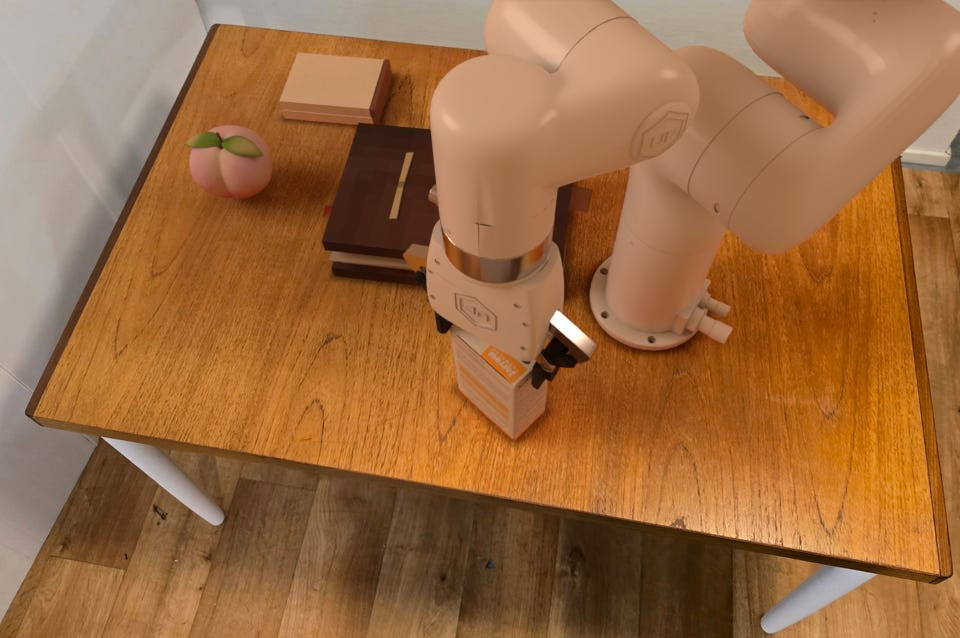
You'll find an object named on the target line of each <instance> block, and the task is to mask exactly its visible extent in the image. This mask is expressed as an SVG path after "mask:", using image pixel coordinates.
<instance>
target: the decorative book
mask: <svg viewBox="0 0 960 638" xmlns="http://www.w3.org/2000/svg"><path fill="white" fill-rule="evenodd" d="M435 184H436V176H435V166H434V156H433V147H432V137H431V128H422V127H409V126H401V125H400V126H399V125H390V124H380V123H379V124H369V123H358V125H356V129H355V132H354V136H353V138H352V142H351V145H350V149H349V151H348V154H347V157H346V161H345V165H344V168H343V172H342V174H341V177H340V181H339V184H338V186H337V191H336V194H335V197H334V200H333V203H332V204H325V205H324V207H323V208H324V209H323V213H322V217H323V218H327V219H328V220H327V221H326V225H325V229H324V232H323V236H322V239H321V243H322V246H323V249H324V251H325V252H327V251H328V252H329V256H328V262H329V261H330V262H332V264H331V271H332V273H333V276H334V277H338V278H339V277H341V278H347V279H348V278H350V279H357V280H358V279H359V280H367V281H376V282H384V283H393V284H401V285H411V286H419V287H422V286H421V285H420V284H419V283H417V282H416V281H415V278H414V276H413V275H414V274H415V271H414V270H411V268H410V266H409V265H408V263H407V262H406V260H405V259H404V257H403V254H404V253H405V252H406V250H407V249H408V248H409V247H410V246H411V245H412V244H417V245H423V246H428V247H429V245H430V241H431V236H432V233H433V229H434V227H435V225H436V223H437V222H438V221H439V219H440V215H439V210H438V209H439V208H438V207H437V206H436V204H435V203H433V202H431V201H429V199H428V196H429V192H430V190H431V188H432V187H433V186H434V185H435ZM573 184H574V182H573V183H570V184H567V185H564V186H561V187H559V188H558V191H557V199H556V208H555V219H554V228H553V237H552V241H553V242H554V243H555V244H556V245H557V246H558V249H559V253H560V257H561V262H562V268H563V275H564V273H565V272H564V271H565V261H566V249H567V237H568V227H569V217H570V211H576V212H581V213H586V214H588V213H589V210H590V205H591V201H592V196H593V192H594V189H593V188H592V189H590V188H586V187H580V186H574V185H573Z"/></svg>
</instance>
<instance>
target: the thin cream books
mask: <svg viewBox="0 0 960 638" xmlns="http://www.w3.org/2000/svg"><path fill="white" fill-rule="evenodd" d="M392 80H393V72H392V67H391V60H390V59H388V58H386V59H383V58H382V59H381V58H371V57H359V56H357V57H356V56H347V55H346V56H345V55H332V54H321V53H309V52H297V53H296V56H295V59H294V61H293V64H292V66H291V69H290V71H289V75H288V76H287V80H286V82H285V85H284V87H283V91H282V93H281V95H280V98H279V100H278V101H279V104H280V107H281V110H282V111H281V112H282V113H283V117H284V118H285V120H296V121H305V122H306V121H307V122H317V123H318V122H319V123H327V124H328V123H331V124H339V125H351V126H353V125H354V126H357V125H358V123H369V124H380V121H381V118H382V114H383V112H384V108H385V104H386V101H387V98H388V94H389V90H390V88H391V84H392Z"/></svg>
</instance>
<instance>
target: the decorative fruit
mask: <svg viewBox="0 0 960 638" xmlns="http://www.w3.org/2000/svg"><path fill="white" fill-rule="evenodd" d="M185 146H186V147H188V148H191V150H190V154H189V172H190V176H191V177H192V180H193V181H194V183H195V184H196V185H197V186H198V187H199V188H200V189H202V190H204V191H206V192H208V193H210V194H212V195H215V196H217V197H221V198H226V199H232V198H233V199H234V198H238V199H248V198H251V197H255V196H256V195H258V194H259V193H261V192H262V191H263V190H264V189H266V188H267V187H268V185H269V183H270V181H271V179H272V176H273V161H272V160H273V159H272V156H271V152H270V149H269V146H268V144H267V142H266V141H265V139H264V138H263V137H262V136H261V135H260V134H259V133H257V132H256V131H254V130H253V129H251V128H248V127H246V126H241V125H234V124H225V125H219V126H215V127H213V128H211V129H209V130H207V131H202V132H198V133H196V134H195V135H193V136H192V137H190V138H189V139H188V140H187V141H186V142H185Z"/></svg>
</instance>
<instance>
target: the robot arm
mask: <svg viewBox="0 0 960 638" xmlns="http://www.w3.org/2000/svg"><path fill="white" fill-rule="evenodd" d="M742 23H743V24H742V25H743V27H742V31H743V35H744V37H745V40H746V43H747V45H748V46H749V47H750V48H751V50H752V51H753V53H754V54H755V55H756V56H757V57H758V58H759V59H760V60H761V61H762V62H764V63H765V64H766V65H767V66H768V67H770V68H771V69H772V70H773V71H774V72H776V73H777V74H778V75H780V76H781V77H782V78H784V79H785V80H786V81H787V82H789V83H790V84H791V85H792V86H794V87H795V88H796V89H798V90H799V91H801V92H802V93H803V94H804V95H806V96H807V97H808V98H810V99H811V100H812V101H814V102H815V103H816V104H817V105H819V106H820V107H821V108H822V109H824V110H826V111H827V112H828V113H829V114H830V115H832V116H833V120H832V122H831V123H830V124H829V125H828V126H825V127H824V125H822V124H821V123H820V122H818V121H817V120H815V119H814V118H813V117H811V115H809V114H808V113H806V112H805V111H804V110H802V109H801V108H800V107H799V106H797V105H796V104H795V103H794V102H792V101H791V100H789V99H788V98H787V97H786V96H785V95H784V93H782V92H781V91H779V90H778V89H776V88H775V87H774V86H773V85H771V84H770V83H769V82H767V81H766V80H764V79H763V78H762V77H761V76H760V75H758V74H757V73H755V72H754V71H753V70H751V69H750V68H749V67H747V66H746V65H745V64H743V63H742V62H741V61H739V60H738V59H736V58H734V57H733V56H730V55H728V54H727V53H725V52H723V51H722V50H718V49H717V48H712V47H710V46H704V45H688V46H687V45H686V46H682V47H679V48H676V49H671V47H669V46H668V45H666V44H665V43H664V42H663V41H661V40H660V39H659V38H658V37H657V36H656V35H654V34H653V33H651V32H650V31H649V30H647V28H645V27H644V26H643V25H641V24H640V23H639V22H638V20H636V18H634V17H633V16H631V15H630V14H629V13H628V12H626V11H625V10H624V9H622V7H621V6H619V5H618V4H616V3H615V2H614V1H613V0H492V2H491V4H490V6H489V8H488V12H487V15H486V17H485V21H484V28H483V29H484V30H483V41H484V45H485V47H484V48H485V51H486V54H484V55H479V56H476V57H472V58H470V59H469V58H468V59H467V60H465V61H462V62H461V63H459V64H457V65H455V66H454V67H453V68H451V69H450V70H449V71H448V72H447V73H446V74H445V75H444V76H443V78H441V80H440V81H439V83H438V84H437V86H436V87H435V90H434V92H433V94H432V98H431V101H430V108H429V121H430V122H429V128H430V129H431V137H432V147H433V156H434V166H435V176H436V184H435V185H434V186H433V187H432V188H431V190H430V192H429V196H428V199H429V201H431V202H433V203H435V204H436V206H437V207H438V208H439V209H438V210H439V215H440V219H439V221H438V222H437V223H436V225H435V227H434V229H433V233H432V236H431V241H430V245H429V247H428V246H423V245H417V244H412V245H411V246H410V247H409V248H408V249H407V250H406V252H405V253H404V254H403V257H404V259H405V260H406V262H407V263H408V265H409V266H410V268H411V270H414V271H415V274H414V275H413V276H414V278H415V281H416V282H417V283H419V284H420V285H421V286H420V287H421V288H422V289H423V290H424V291H425V292H426V294H427V296H426V297H425V300H426V302H427V303H428V304H429V305H430V306H431V308H432V310H433V311H434V317H435V325H436V332H437V333H440V334H441V335H446V334H448V332H449V331H450V328H451V327H452V326H453V325H454V324H455V325H457V326H458V327H460V328H462V329H463V330H465V331H467V332H469V333H470V334H472V335H474V336H475V337H477V338H479V339H481V340H482V341H484V342H486V343H488V344H489V345H491V346H493V347H495V348H497V349H498V350H500V351H502V352H504V353H506V354H507V355H509V356H511V357H513V358H515V359H518V360H521V361H533V360H534V359H535V360H536V362H535V364H534V366H533V371H532V380H531V385H532V387H534V388H535V389H537V390H538V389H539V388H540V387H541V385H542V384H543V382H544V381H545V379H546V380H548V382H549V383H552V382H553V380H554V379H555V378H556V376H557V374H558V373H559V371H560V368H565V369H574V368H576V366H577V365H581V364H584V363H587V362H590V361H591V360H592V358H593V356H594V355H595V353H596V352H597V350H598V349H599V346H598V345H597V343H595V341H593V340H592V339H591V338H590V337H589V336H588V335H586V334H585V333H584V332H583V331H582V330H581V329H580V328H579V327H578V326H576V325H575V324H574V323H573V322H572V321H571V320H569V318H567V316H565V315H564V314H563V313H564V306H565V305H564V303H565V277H564V274H563V268H562V262H561V257H560V253H559V249H558V246H557V245H556V244H555V243H554V242H553V241H552V237H553V228H554V219H555V208H556V199H557V191H558V188H559V187H561V186H564V185H567V184H570V183H573V184H574V183H576V182H579V181H584V180H587V179H591V178H594V177H597V176H601V175H606V174H608V173H613V172H616V171H620V170H623V169H626V168H629V170H628V171H629V172H628V180H627V185H626V190H625V193H624V194H625V196H624V200H623V204H622V208H621V212H620V217H619V222H618V226H617V232H616V235H615V240H614V245H613V249H612V254H611V255H610V256H608V257H607V258H605V260H603V262H601V264H600V265H598V267H597V269H596V271H595V272H594V274H593V276H592V279H591V282H590V286H589V304H590V309H591V312H592V314H593V317H594V318H595V320H596V322H597V323H598V325H599V326H600V327H601V328H602V330H603V331H605V332H606V333H607V334H608V335H609V336H610V337H611V338H613V339H614V340H616V341H618V342H619V343H621V344H624V345H626V346H628V347H631V348H634V349H637V350H638V349H639V350H642V351H653V352H655V351H664V350H665V351H666V350H668V349H673V348H676V347H678V346H681V345H682V344H684V343H686V342H688V341H689V340H690V339H691V338H693V337H694V336H695V335H696V333H697V332H700V333H702V334H704V335H706V336H707V337H708V338H710V339H712V340H714V341H716V342H718V343H719V344H721V345H725V344H726V342H727V340H728V339H729V336H730V335H731V333H732V331H733V329H734V327H732V326H730V325H728V324H726V323H725V322H722V321H720V320H718V319H717V320H716V319H714V318H712V317H710V316H709V315H707V314H708V311H709V312H712V313H713V314H714V315H716V316H718V317H720V318H723V319H726V317H727V316H728V314H729V312H730V310H731V308H732V306H730V305H729V304H726V303H724V302H722V301H719V300H716V299H715V298H712V297H711V296H712V294H710V293H709V291H708V289H709V287H710V284H711V282H712V280H711V279H709V278H707V276H708V274H709V272H710V270H711V267H712V265H713V262H714V260H715V258H716V256H717V254H718V251H719V249H720V246H721V244H722V242H723V240H724V237H725V235H726V234H727V231H729V232H730V233H732V234H733V235H734V236H735V237H736V238H738V240H739V241H741V242H742V243H743V244H744V245H746V246H747V247H749V248H750V249H752V250H754V251H756V252H758V253H760V254H763V255H768V256H776V255H782V254H786V253H788V252H790V251H792V250H794V249H796V248H797V247H799V246H800V245H802V244H803V243H805V242H806V241H807V240H809V239H810V238H812V237H814V235H815V234H817V232H819V231H820V230H821V229H823V228H824V226H825V225H827V224H828V222H830V221H831V220H832V219H833V218H834V217H836V216H837V214H839V213H841V212H840V211H842V210H843V209H844V208H845V207H846V206H847V205H848V204H850V202H852V200H854V199H855V198H856V197H857V196H858V195H859V194H860V193H861V192H862V191H863V190H865V189H866V188H867V187H868V186H869V184H871V183H872V182H873V181H874V180H875V179H876V178H877V177H879V175H880V174H881V173H883V172H884V171H885V170H886V169H887V168H888V167H889V166H890V165H891V164H892V163H893V162H895V161H896V160H897V159H898V157H900V156H901V155H902V154H903V153H904V152H906V150H908V149H909V147H911V146H912V145H913V144H914V143H915V142H916V141H917V140H918V139H919V138H921V136H922V135H924V134H925V133H926V132H927V131H928V130H929V129H930V127H932V126H933V125H934V123H935V122H937V121H938V120H939V119H940V118H941V117H942V116H943V115H944V113H945V112H946V111H947V110H948V109H949V108H950V107H951V106H952V105H953V104H954V102H955V101H956V100H957V99H958V98H959V96H960V10H958V9H957V8H955V7H954V6H953V5H951V4H950V3H948V2H946V1H944V0H751V2H750V3H749V5H748V7H747V9H746V11H745V14H744V17H743V22H742ZM548 339H549V342H548V343H547V345H546V342H547V340H548ZM545 345H546V347H545ZM543 347H544V348H545V349H543Z"/></svg>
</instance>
